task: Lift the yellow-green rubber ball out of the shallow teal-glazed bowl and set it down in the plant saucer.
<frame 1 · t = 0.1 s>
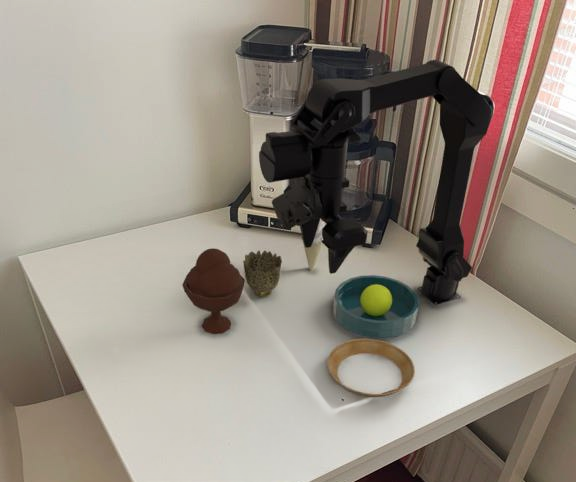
hand: (319, 259, 105), 15 cm above the table, tool pointing down, fingers open, 9 cm apart
ball: (374, 313, 118), point 1 cm above the table, touching glazed bowl
ice cream cone: (311, 272, 130), on the table
ice cream bowl: (216, 325, 115), on the table
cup: (262, 295, 123), on the table
glazed bowl: (373, 315, 118), on the table
plant saucer: (369, 377, 105), on the table
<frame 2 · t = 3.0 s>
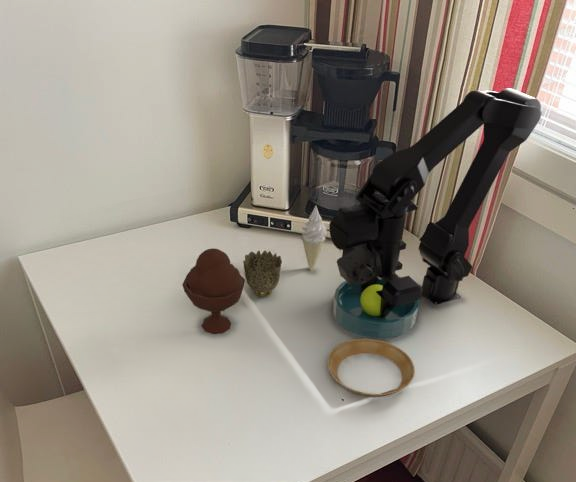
hand: (374, 308, 117), 2 cm above the table, tool pointing down, fingers closed on ball, 6 cm apart
ball: (374, 313, 118), point 1 cm above the table, touching glazed bowl, gripper
everything else where it was.
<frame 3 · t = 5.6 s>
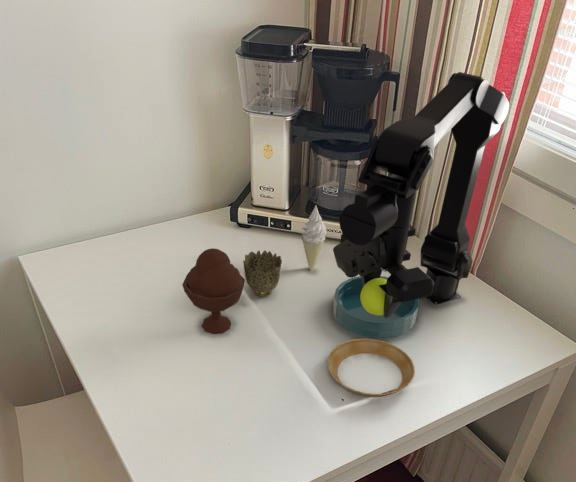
hand: (377, 306, 101), 12 cm above the table, tool pointing down, fingers closed on ball, 6 cm apart
ball: (376, 311, 101), point 11 cm above the table, touching gripper
everything else where it was.
when the fingers open (4 cm above the table, at t = 8.3 s): ball stays where it is, resting on plant saucer.
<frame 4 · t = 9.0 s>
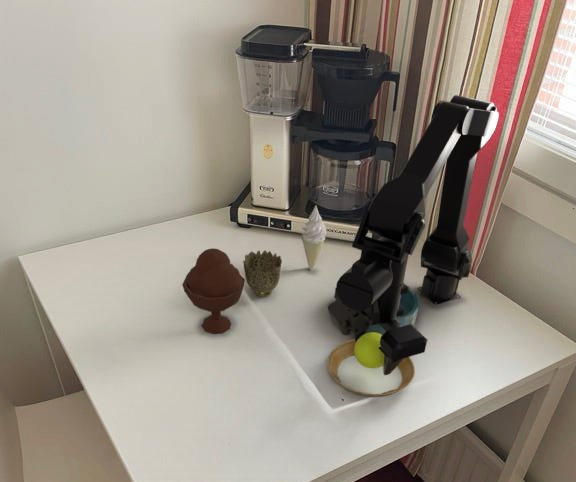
hand: (372, 357, 102), 4 cm above the table, tool pointing down, fingers open, 9 cm apart
ball: (370, 364, 103), point 3 cm above the table, touching plant saucer
plant saucer: (369, 377, 105), on the table, touching ball
everything else where it was.
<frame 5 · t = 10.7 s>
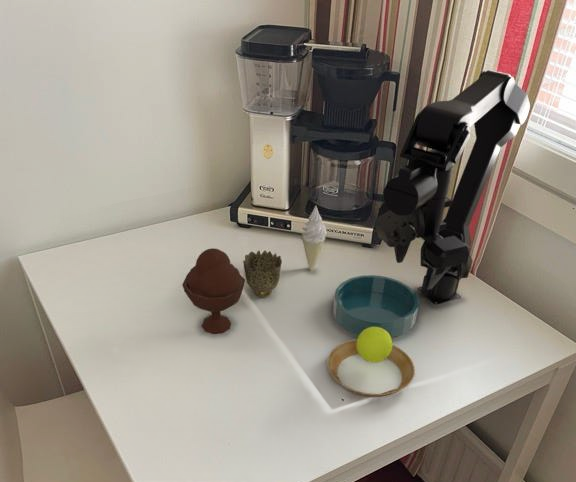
hand: (413, 275, 108), 12 cm above the table, tool pointing down, fingers open, 9 cm apart
ball: (371, 362, 103), point 3 cm above the table, tilted 34°, touching plant saucer
everything else where it was.
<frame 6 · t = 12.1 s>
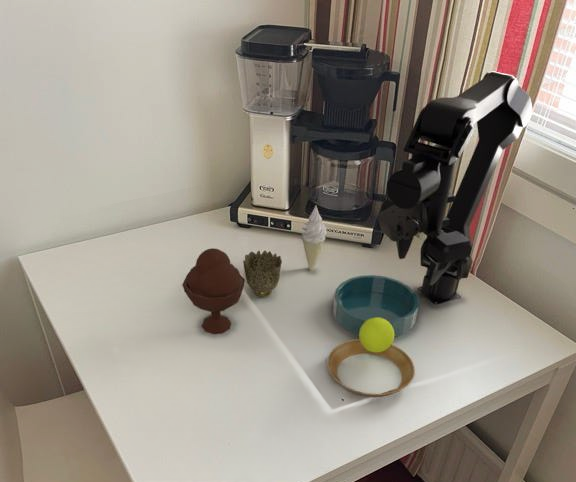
hand: (416, 270, 108), 12 cm above the table, tool pointing down, fingers open, 9 cm apart
ball: (374, 346, 103), point 5 cm above the table, tilted 86°, touching plant saucer
everything else where it was.
at the end: ball inside the target area on the plant saucer (2.0 cm from its centre), point 6.1 cm above the plant saucer's base; the gripper is holding nothing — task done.
